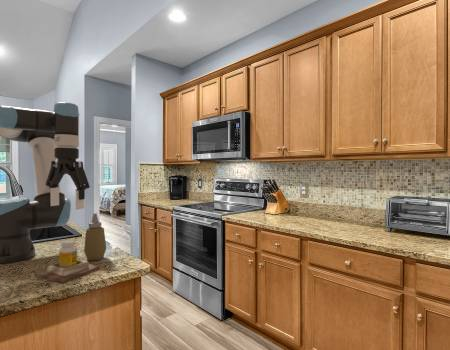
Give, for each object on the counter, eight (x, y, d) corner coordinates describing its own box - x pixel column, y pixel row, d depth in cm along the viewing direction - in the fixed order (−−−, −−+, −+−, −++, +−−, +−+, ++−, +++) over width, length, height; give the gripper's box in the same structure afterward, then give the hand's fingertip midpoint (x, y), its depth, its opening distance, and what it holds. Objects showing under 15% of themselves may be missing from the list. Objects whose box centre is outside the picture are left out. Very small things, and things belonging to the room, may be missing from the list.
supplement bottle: (62, 266, 99) (62, 239, 99) (79, 266, 100) (79, 239, 100) (56, 272, 94) (56, 243, 94) (73, 271, 95) (73, 243, 94)
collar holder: (34, 276, 93) (34, 267, 93) (73, 263, 106) (73, 255, 106) (62, 283, 87) (62, 273, 87) (99, 268, 100) (99, 260, 100)
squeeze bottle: (97, 262, 107) (97, 215, 106) (79, 261, 108) (78, 214, 108) (110, 256, 115) (110, 212, 114) (93, 254, 116) (92, 211, 116)
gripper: (34, 147, 101) (34, 205, 102) (81, 146, 90) (81, 212, 91) (54, 148, 108) (55, 203, 109) (100, 147, 97) (100, 208, 98)
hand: (67, 207), depth 100 cm, fingers open, 13 cm apart
